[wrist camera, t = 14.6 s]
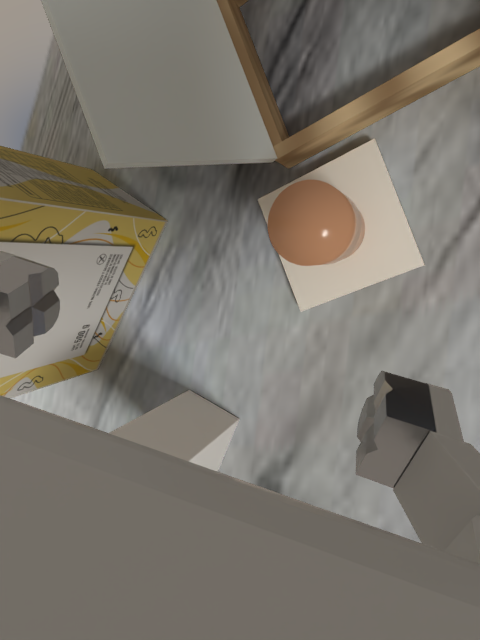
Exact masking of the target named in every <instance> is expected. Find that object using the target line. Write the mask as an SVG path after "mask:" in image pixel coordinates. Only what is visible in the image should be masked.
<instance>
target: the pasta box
mask: <svg viewBox="0 0 480 640" xmlns="http://www.w3.org/2000/svg"><path fill="white" fill-rule="evenodd" d="M167 222H168V221H167V220H166V219H164V218H163V217H161V216H160V215H158V214H157V213H155V212H154V211H153V210H151V209H150V208H148V207H147V206H145V205H144V204H142V203H141V202H139V201H138V200H136V199H135V198H133V197H132V196H130V195H129V194H127V193H126V192H124V191H123V190H121V189H120V188H119V187H117V186H116V185H114V184H113V183H111V182H110V181H108V180H107V179H105V178H104V177H102V176H101V175H99V174H98V173H96V172H95V171H93V170H92V169H88V168H84V167H80V166H76V165H72V164H68V163H65V162H61V161H57V160H53V159H49V158H45V157H41V156H38V155H34V154H30V153H26V152H22V151H18V150H14V149H11V148H7V147H3V146H0V251H3V252H7V253H10V254H13V255H16V256H18V257H22V258H25V259H28V260H31V261H34V262H37V263H40V264H43V265H46V266H49V267H52V268H54V269H55V270H56V271H57V272H58V277H59V285H58V287H57V288H56V289H55V290H54V291H55V293H56V295H57V296H58V298H59V299H60V311H59V316H58V319H57V320H56V322H55V324H54V326H53V327H52V328H51V329H50V330H49V331H48V332H47V333H45V334H42V335H38V336H34V344H32V345H31V346H30V347H29V348H28V349H26V350H25V351H24V352H23V353H22V354H20V355H19V356H18V357H17V358H12V357H9V356H6V355H3V354H0V395H1V396H4V397H7V398H13V397H16V396H19V395H22V394H25V393H28V392H31V391H34V390H37V389H40V388H43V387H46V386H49V385H52V384H55V383H59V382H62V381H65V380H68V379H71V378H74V377H77V376H80V375H83V374H86V373H89V372H92V371H95V370H98V369H99V366H100V364H101V362H102V360H103V358H104V356H105V354H106V352H107V349H108V347H109V345H110V343H111V341H112V339H113V337H114V335H115V332H116V330H117V328H118V326H119V324H120V322H121V320H122V318H123V316H124V313H125V311H126V309H127V307H128V305H129V303H130V301H131V299H132V296H133V294H134V292H135V290H136V288H137V286H138V284H139V282H140V279H141V277H142V275H143V273H144V271H145V269H146V267H147V265H148V262H149V260H150V258H151V256H152V254H153V252H154V250H155V248H156V245H157V243H158V241H159V239H160V237H161V235H162V233H163V231H164V229H165V226H166V224H167Z"/></svg>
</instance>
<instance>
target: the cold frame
mask: <svg viewBox="0 0 480 640" xmlns="http://www.w3.org/2000/svg"><path fill="white" fill-rule="evenodd" d="M216 1H217V3H218V6H219V8H220V11H221V14H222V16H223V19H224V21H225V24H226V26H227V29H228V32H229V34H230V37H231V39H232V42H233V45H234V47H235V50H236V52H237V55H238V57H239V60H240V63H241V65H242V68H243V70H244V73H245V76H246V78H247V81H248V83H249V86H250V89H251V91H252V94H253V96H254V99H255V101H256V104H257V107H258V109H259V112H260V114H261V117H262V120H263V122H264V125H265V127H266V130H267V132H268V135H269V138H270V140H271V143H272V145H273V148H274V151H275V153H276V156H277V159H276V160H275V161H277V162H278V163H280V164H282V165H283V166H285V167H287V168H288V169H289V168H291V167H293V166H295V165H297V164H299V163H300V162H302V161H304V160H306V159H308V158H310V157H312V156H313V155H315V154H317V153H319V152H321V151H323V150H325V149H326V148H328V147H330V146H332V145H334V144H336V143H338V142H340V141H341V140H343V139H345V138H347V137H349V136H351V135H353V134H354V133H356V132H358V131H360V130H362V129H364V128H366V127H367V126H369V125H371V124H373V123H375V122H377V121H379V120H380V119H382V118H384V117H386V116H388V115H390V114H392V113H393V112H395V111H397V110H399V109H401V108H403V107H405V106H407V105H408V104H410V103H412V102H414V101H416V100H418V99H420V98H421V97H423V96H425V95H427V94H429V93H431V92H433V91H434V90H436V89H438V88H440V87H442V86H444V85H446V84H447V83H449V82H451V81H453V80H455V79H457V78H459V77H460V76H462V75H464V74H466V73H468V72H470V71H472V70H474V69H475V68H477V67H479V66H480V29H478V30H476V31H474V32H473V33H471V34H469V35H467V36H466V37H464V38H462V39H460V40H459V41H457V42H455V43H453V44H452V45H450V46H448V47H446V48H445V49H443V50H441V51H439V52H438V53H436V54H434V55H432V56H431V57H429V58H427V59H425V60H424V61H422V62H420V63H418V64H417V65H415V66H413V67H411V68H410V69H408V70H406V71H404V72H403V73H401V74H399V75H397V76H396V77H394V78H392V79H390V80H389V81H387V82H385V83H383V84H382V85H380V86H378V87H376V88H375V89H373V90H371V91H369V92H368V93H366V94H364V95H362V96H361V97H359V98H357V99H355V100H354V101H352V102H350V103H348V104H347V105H345V106H343V107H341V108H340V109H338V110H336V111H334V112H333V113H331V114H329V115H327V116H326V117H324V118H322V119H320V120H319V121H317V122H315V123H313V124H312V125H310V126H308V127H306V128H305V129H303V130H301V131H299V132H298V133H296V134H294V135H292V136H291V137H289V135H288V132H287V130H286V127H285V124H284V122H283V119H282V117H281V114H280V111H279V109H278V106H277V104H276V101H275V99H274V96H273V93H272V91H271V88H270V86H269V83H268V81H267V78H266V75H265V73H264V70H263V68H262V65H261V63H260V60H259V57H258V55H257V52H256V50H255V47H254V44H253V42H252V39H251V37H250V34H249V32H248V29H247V26H246V24H245V21H244V19H243V16H242V14H241V11H240V8H239V7H241V6H242V5H243V4H245V3H246V2H247V1H249V0H216Z"/></svg>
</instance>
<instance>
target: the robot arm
mask: <svg viewBox="0 0 480 640" xmlns="http://www.w3.org/2000/svg"><path fill="white" fill-rule="evenodd" d="M58 285H59V277H58V272H57V271H56V270H55V269H54V268H52V267H49V266H46V265H43V264H40V263H37V262H34V261H31V260H28V259H25V258H22V257H18V256H16V255H13V254H10V253H7V252H3V251H0V354H3V355H6V356H9V357H12V358H17V357H18V356H19V355H20V354H22V353H23V352H24V351H25V350H26V349H28V348H29V347H30V346H31V345H32V344H34V336H38V335H42V334H45V333H47V332H48V331H49V330H50V329H51V328H52V327H53V326H54V324H55V322H56V320H57V319H58V316H59V311H60V299H59V298H58V296H57V295H56V293H55V291H54V290H55V289H56V288H57V287H58ZM357 437H358V439H359V440H360V442H361V443H360V445H359V447H358V449H357V451H356V475H359V476H362V477H364V478H367V479H370V480H372V481H375V482H378V483H381V484H383V485H386V486H389V487H391V488H394V489H393V491H394V493H395V494H396V496H397V498H398V500H399V502H400V504H401V506H402V507H403V509H404V511H405V513H406V515H407V517H408V518H409V520H410V522H411V524H412V526H413V528H414V530H415V531H416V533H417V535H418V537H419V539H420V541H421V542H422V544H421V543H418V542H416V541H413V540H410V539H407V538H404V537H401V536H399V535H396V534H393V533H390V532H387V531H384V530H382V529H379V528H376V527H373V526H370V525H367V524H364V523H362V522H359V521H356V520H353V519H350V518H347V517H344V516H341V515H339V514H336V513H333V512H330V511H327V510H324V509H321V508H319V507H316V506H313V505H310V504H307V503H304V502H302V501H299V500H296V499H293V498H290V497H287V496H285V495H282V494H279V493H276V492H273V491H271V490H268V489H265V488H262V487H259V486H256V485H254V484H251V483H248V482H245V481H242V480H239V479H237V478H234V477H231V476H228V475H225V474H223V473H220V472H217V471H214V470H211V469H208V468H206V467H203V466H200V465H197V464H194V463H191V462H189V461H186V460H183V459H180V458H177V457H175V456H172V455H169V454H166V453H163V452H160V451H158V450H155V449H152V448H149V447H146V446H143V445H140V444H138V443H135V442H132V441H129V440H126V439H123V438H120V437H118V436H115V435H112V434H109V433H106V432H103V431H101V430H98V429H95V428H92V427H89V426H86V425H83V424H81V423H78V422H75V421H72V420H69V419H66V418H64V417H61V416H58V415H55V414H52V413H49V412H46V411H44V410H41V409H38V408H35V407H32V406H29V405H27V404H24V403H21V402H18V401H15V400H12V399H10V398H7V397H4V396H1V395H0V640H480V453H479V452H478V451H477V450H476V449H475V448H474V447H473V446H472V445H471V444H469V443H466V442H464V440H463V436H462V432H461V428H460V424H459V420H458V416H457V412H456V408H455V404H454V400H453V396H452V393H451V391H450V390H449V389H445V388H442V387H438V386H434V385H431V384H427V383H422V382H419V381H415V380H412V379H409V378H405V377H402V376H398V375H395V374H391V373H388V372H385V371H381V372H380V374H379V375H378V377H377V379H376V381H375V383H374V395H372V396H370V397H368V398H367V399H366V401H365V404H364V406H363V408H362V411H361V414H360V418H359V422H358V428H357Z"/></svg>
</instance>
